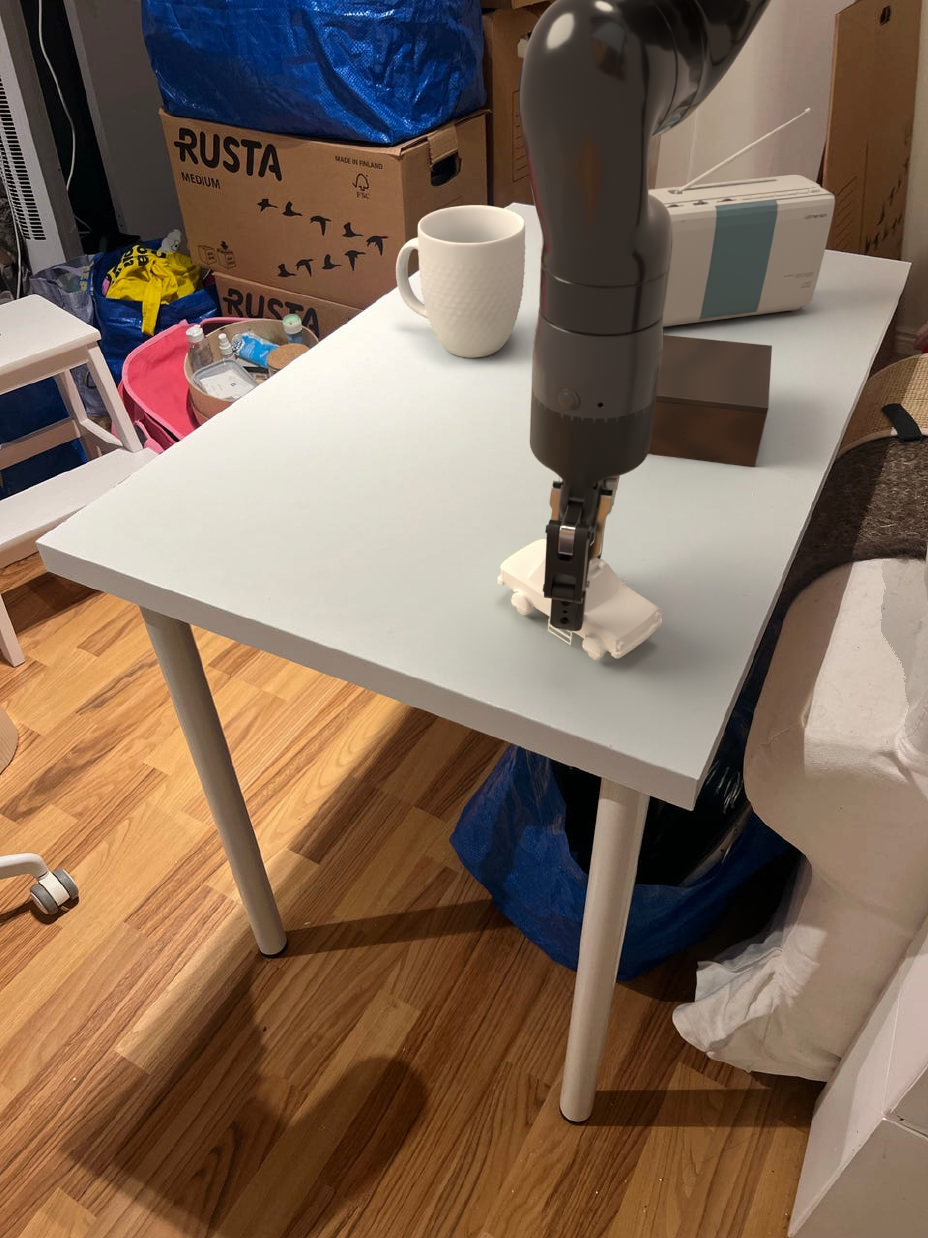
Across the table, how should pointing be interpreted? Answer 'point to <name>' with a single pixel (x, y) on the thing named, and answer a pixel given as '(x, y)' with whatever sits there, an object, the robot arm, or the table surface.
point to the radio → (744, 244)
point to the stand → (711, 400)
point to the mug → (467, 276)
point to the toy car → (609, 607)
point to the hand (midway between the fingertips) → (576, 590)
